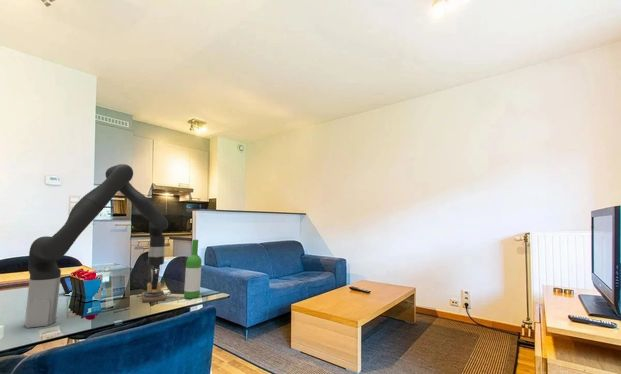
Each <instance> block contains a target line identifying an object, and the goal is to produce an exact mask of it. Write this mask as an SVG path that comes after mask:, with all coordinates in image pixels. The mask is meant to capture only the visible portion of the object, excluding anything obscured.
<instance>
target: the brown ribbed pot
mask: <svg viewBox="0 0 621 374" xmlns="http://www.w3.org/2000/svg"><path fill="white" fill-rule="evenodd" d="M146 286H147V287H146V288H147V289H146V292H148V293H155V292H160V291H162V282H161V281H158V282H157V289H156V290H152V281H151V282H147V285H146Z"/></svg>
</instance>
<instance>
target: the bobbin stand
mask: <svg viewBox="0 0 621 374" xmlns="http://www.w3.org/2000/svg"><path fill="white" fill-rule="evenodd" d="M141 300H142V304H145V303H155V302H165V301H166V296H165V292H164V290H161V291H160V292H155V293H148V292H147V291H142V292H141Z"/></svg>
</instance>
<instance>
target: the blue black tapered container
mask: <svg viewBox="0 0 621 374" xmlns="http://www.w3.org/2000/svg"><path fill="white" fill-rule="evenodd" d="M70 276H71V275H66V276H60V284H61V287H62V289H63V291H64V295H65V294H69V293H70V292H72V286H71V281H70ZM103 289H104V288H103V287H102V289H101V290H102V291H103Z"/></svg>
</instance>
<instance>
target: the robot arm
mask: <svg viewBox="0 0 621 374" xmlns="http://www.w3.org/2000/svg"><path fill="white" fill-rule="evenodd" d="M133 177H134V170H133V167H132V166H130V165H129V164H124V163H122V164H121V163H120V164H115V165H113V166H110V167H108V168H107V170H105V178H106V179H104V181H103V182H102V183H100V184H99V185H98V186H96V187H94V188H93V189H92V190H90V191H89V192H88V193H86V194H85V195H83V196H82V197H81V198H80V199H79V200H78V201H77V202H76V204H75V205H74V206H73V207H72V208H71V210H70V212H69V215H68V218H67V220H66V222H65V223H64V225H63V226H62V227H61V228H60V229H59V230H58V231H56V233H54V234H53V235H52V236H47V235H46V236H40V237H38V238H36V239H35V240H34V241H33V242H32V243H31V245H30V248H29V252H28V264H27V265H28V267H27V268H28V269H27V270H28V273H29V281H28V291H27V298H26V299H27V300H26V307H25V318H24V327H25V328H27V329H28V328H29V329H30V328H37V327H45V326H46V327H47V326H49V325H51V324H53V323H56V321H57V314H58V313H57V312H58V304H59V303H58V302H59V293H60V284H61V282H60V278H61V277H62V270H61V268H60V267H59V266H58V264H57V261H58V260H60V259H62V258H63V257H64V256H65V255H66V254H67V253H68V252H69V250H70V249H71V247H72V246H73V244H74V243H75V242H76V240H77V239H78V237H80V235H81V234H82V233H83V232H84V231H85V230H86V228H87V227H88V226H89V225H90V224H91V223H92V222H93V220H95V219H96V217H97V216H99V214H101V212H102V211H103V210H104V208H105V207H106V206H107V205H108V204H110V202H111V201H112V199H113V198H114V197H115V196H116V194H117V193H118V192H120V193H121V194H122V195H123V196H124V197H125V198H126V199H127V200H128V201H129V202H130V203H131V204H132V205H133V206H134V208H135V209H137V211H138V212H139V213H140V214H141V216H142V217H143V218H145V219H148V221H149V223H148V231H149V237H150V238H149V246H148V247H149V248H148V253H147V254H148V255H147V256H148V257H147V265H148V266H151V267H150V278H151V282H152V290H156V289H157V282H159V277H160V271H161V268H160V267H159V266H161V265H164V263H165V245H166V243H165V241H166V238H165V236H164V235H163V234H164V233H163V231H165V230H166V229H168V227H169V221H168V219H167V217H166V216H164V215H163V214H162V212H160V211H159V210H158V209H157V208H156V206H155V205H154V204H153V202H151V200H150V199H149V198H148V197H147V196H145V195H144V194H143V193H141V191H139V190H137V189H136V188H135V187H134V186H133V185H132V184H131V183H130V181H131V180H132V179H133Z"/></svg>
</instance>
